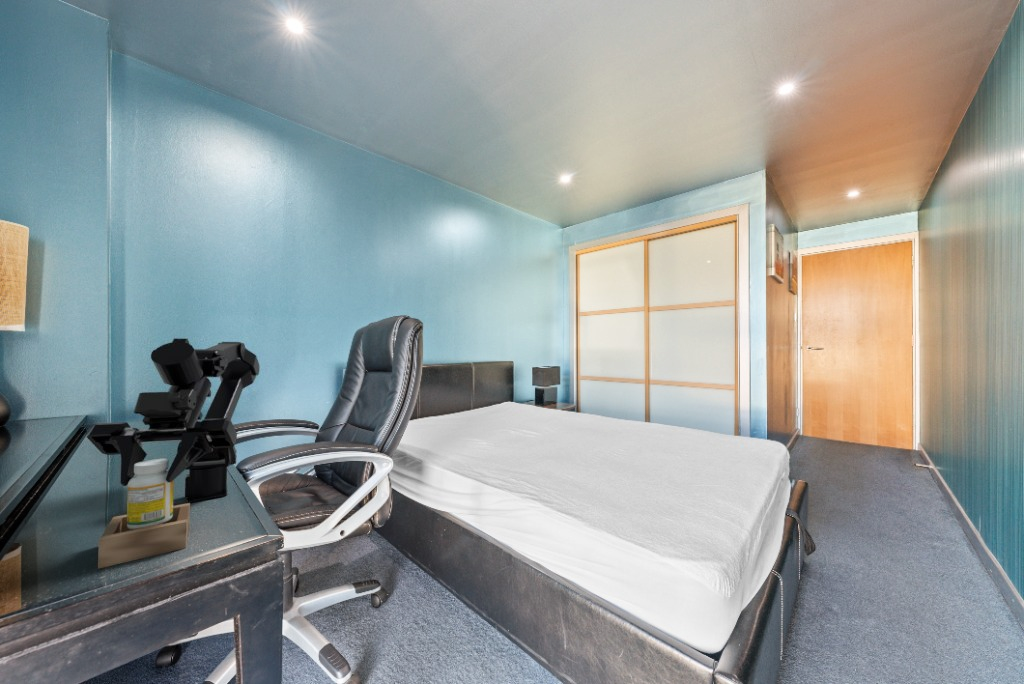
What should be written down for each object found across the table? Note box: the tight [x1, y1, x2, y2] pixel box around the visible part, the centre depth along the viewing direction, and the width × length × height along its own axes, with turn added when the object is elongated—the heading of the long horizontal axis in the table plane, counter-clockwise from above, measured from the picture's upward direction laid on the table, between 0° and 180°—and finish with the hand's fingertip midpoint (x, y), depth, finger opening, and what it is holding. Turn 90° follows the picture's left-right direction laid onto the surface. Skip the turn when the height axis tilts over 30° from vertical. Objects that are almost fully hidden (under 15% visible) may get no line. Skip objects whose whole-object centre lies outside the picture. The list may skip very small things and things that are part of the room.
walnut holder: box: [97, 502, 191, 570], centre depth 60 cm, size 9×9×4 cm
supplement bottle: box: [126, 458, 175, 530], centre depth 60 cm, size 5×5×10 cm
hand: (146, 482), depth 59 cm, fingers closed on supplement bottle, 5 cm apart
